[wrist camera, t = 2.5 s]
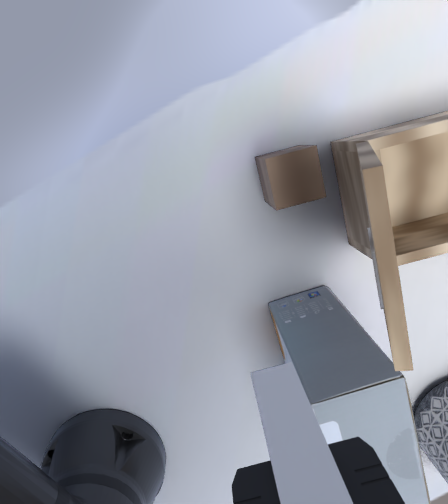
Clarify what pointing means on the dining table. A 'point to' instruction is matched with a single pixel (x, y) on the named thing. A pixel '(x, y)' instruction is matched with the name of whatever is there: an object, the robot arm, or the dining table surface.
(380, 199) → the lid
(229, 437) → the dining table surface
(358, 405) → the hard drive box
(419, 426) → the planter
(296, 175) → the walnut block
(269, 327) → the dining table surface
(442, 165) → the light wooden box
